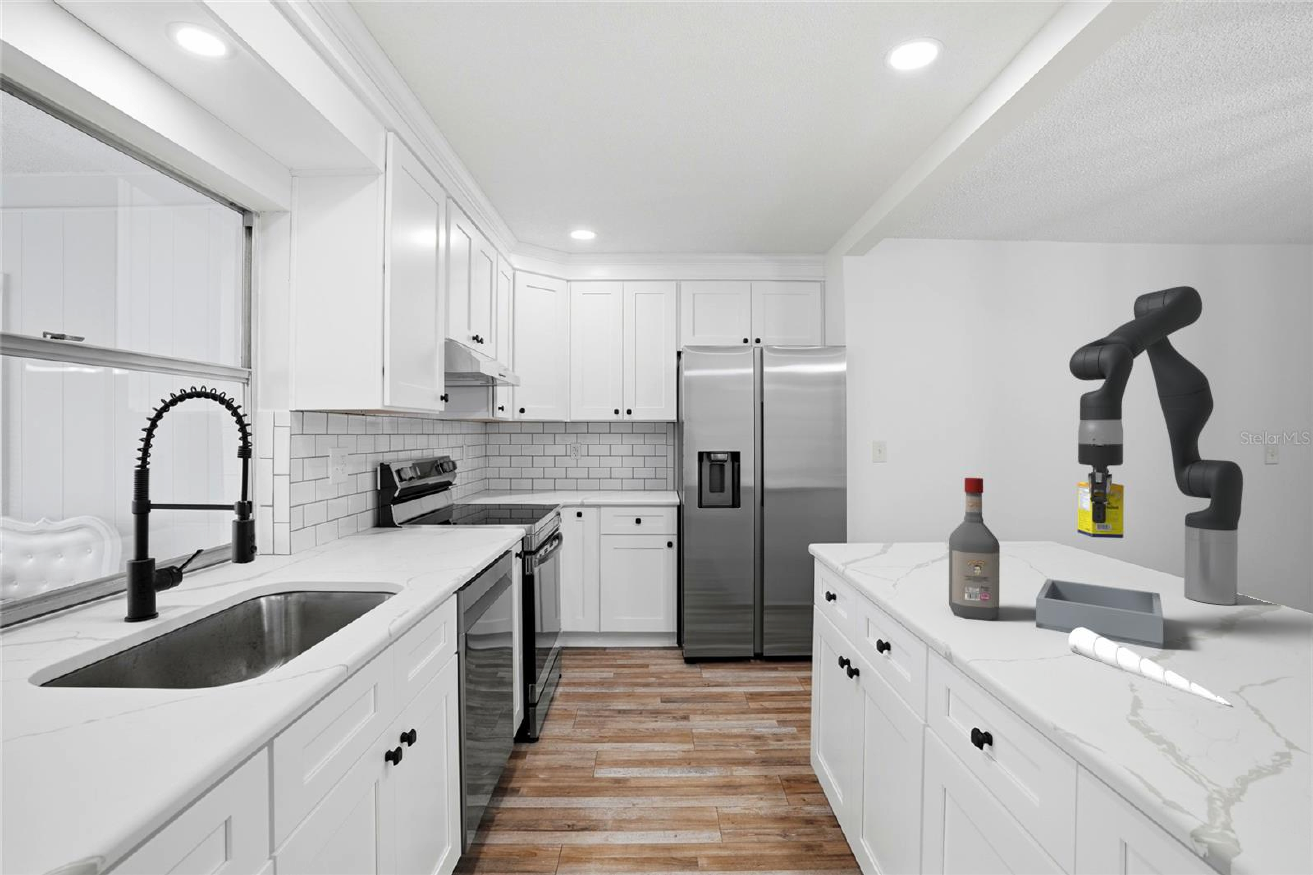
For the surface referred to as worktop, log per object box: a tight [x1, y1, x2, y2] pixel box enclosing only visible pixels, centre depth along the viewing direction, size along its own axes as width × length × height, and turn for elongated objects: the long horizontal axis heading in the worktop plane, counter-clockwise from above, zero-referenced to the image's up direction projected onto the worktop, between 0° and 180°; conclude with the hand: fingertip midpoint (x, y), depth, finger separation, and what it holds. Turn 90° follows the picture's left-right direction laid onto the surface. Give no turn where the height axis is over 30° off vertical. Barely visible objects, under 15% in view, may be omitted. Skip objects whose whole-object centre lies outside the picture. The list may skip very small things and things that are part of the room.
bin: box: [1035, 578, 1164, 650], centre depth 125 cm, size 20×20×6 cm
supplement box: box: [1077, 481, 1125, 539], centre depth 125 cm, size 6×6×11 cm
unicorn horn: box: [1067, 627, 1233, 707], centre depth 99 cm, size 5×24×5 cm, turn 14°
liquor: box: [948, 477, 1001, 621], centre depth 132 cm, size 9×9×30 cm
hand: (1099, 520), depth 125 cm, fingers closed on supplement box, 8 cm apart
